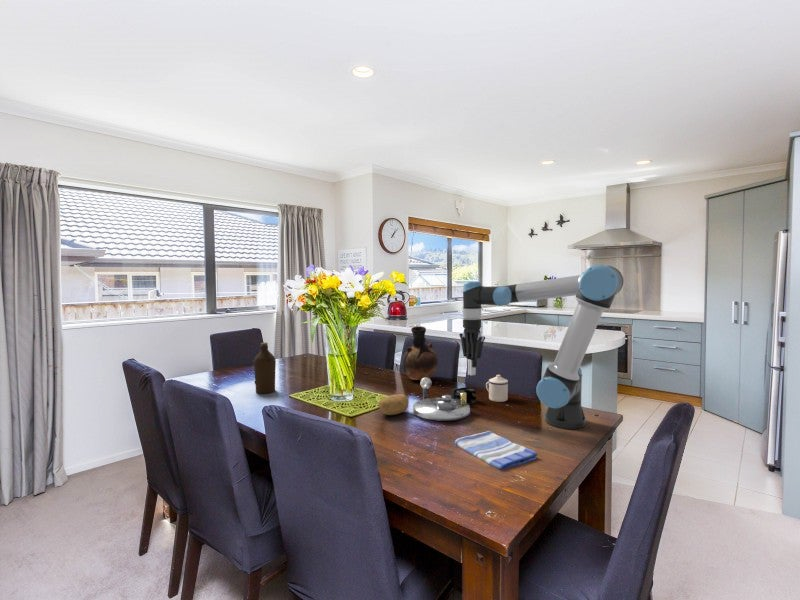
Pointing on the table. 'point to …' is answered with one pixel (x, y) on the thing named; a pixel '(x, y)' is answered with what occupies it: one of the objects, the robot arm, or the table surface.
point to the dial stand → (425, 386)
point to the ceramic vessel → (419, 356)
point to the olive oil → (264, 371)
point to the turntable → (430, 411)
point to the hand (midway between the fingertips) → (471, 374)
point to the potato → (393, 404)
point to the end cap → (469, 396)
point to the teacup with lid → (498, 389)
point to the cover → (446, 403)
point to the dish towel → (495, 450)
